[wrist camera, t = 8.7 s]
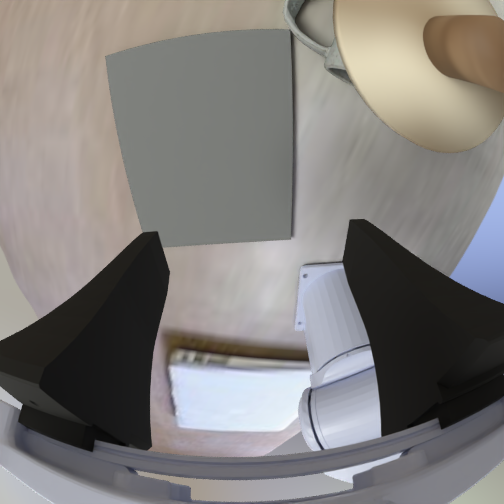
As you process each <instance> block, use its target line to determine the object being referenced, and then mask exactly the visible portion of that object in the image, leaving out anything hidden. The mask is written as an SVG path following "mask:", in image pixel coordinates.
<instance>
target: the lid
mask: <svg viewBox="0 0 504 504" xmlns="http://www.w3.org/2000/svg"><path fill="white" fill-rule="evenodd" d="M333 25H334V34H335V38H336V43H337V47H338V50H339V53H340V56H341V60H342V63H343V65H344V67H345V69H346V71H347V74H348V76H349V78H350V80H351V81H352V83H353V85H354V87H355V88H356V90H357V92H358V93H359V95H360V96H361V97H362V99H363V100H364V102H365V103H366V104H367V106H368V107H369V108H370V109H371V110H372V111H373V113H374V114H375V115H376V116H377V117H378V118H379V119H380V120H381V121H382V122H384V123H385V124H386V125H387V126H388V127H390V128H391V129H392V130H394V131H395V132H396V133H398V134H399V135H401V136H403V137H405V138H406V139H408V140H410V141H411V142H413V143H415V144H416V145H419V146H421V147H423V148H425V149H428V150H432V151H436V152H442V153H458V152H462V151H467V150H469V149H472V148H474V147H476V146H478V145H479V144H481V143H482V142H484V141H485V140H486V139H487V138H488V137H490V136H491V135H492V133H493V132H494V131H495V130H496V129H497V127H498V126H499V124H500V123H501V121H502V119H503V117H504V21H503V20H502V19H501V18H499V17H498V15H497V13H496V11H495V10H494V8H493V6H492V5H491V3H490V2H489V0H334V3H333Z"/></svg>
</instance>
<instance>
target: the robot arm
mask: <svg viewBox="0 0 504 504" xmlns="http://www.w3.org/2000/svg"><path fill="white" fill-rule="evenodd" d="M342 262H343V263H330V264H316V265H304V266H302V267H301V268H300V276H299V288H298V298H297V309H296V318H295V330H296V331H304V333H305V338H306V343H307V349H308V354H309V360H310V366H311V371H312V375H310V381H311V387H309V388H307V389H305V390H304V392H303V394H302V397H301V399H300V402H299V409H298V414H299V422H300V427H301V431H302V434H303V437H304V439H305V441H306V443H307V445H308V446H309V447H310V449H311V450H312V451H313V452H305V453H298V454H288V455H278V456H261V457H203V456H188V455H177V454H168V453H160V452H153V451H147V450H148V449H150V448H151V447H152V441H151V427H150V385H151V370H152V359H153V351H154V345H155V340H156V336H157V332H158V328H159V324H160V320H161V316H162V312H163V308H164V304H165V300H166V296H167V291H168V284H169V275H170V271H169V268H168V264H167V261H166V258H165V254H164V251H163V248H162V244H161V241H160V237H159V234H158V231H152V232H143V233H142V234H140V235H139V236H138V237H137V238H136V239H135V240H133V241H132V242H131V243H130V244H129V245H128V246H127V247H126V248H125V249H124V250H123V251H122V252H121V253H120V254H119V255H118V256H117V257H116V258H115V259H114V260H113V261H111V262H110V263H109V264H108V265H107V266H106V267H105V268H104V269H103V270H102V271H101V272H100V273H99V274H97V275H96V276H95V277H94V278H93V279H92V280H91V281H90V282H89V283H88V284H87V285H85V286H84V287H83V288H82V289H81V290H79V291H78V292H77V293H76V294H74V295H73V296H72V297H71V298H69V299H68V300H67V301H65V302H64V303H63V304H61V305H60V306H58V307H57V308H56V309H54V310H53V311H51V312H50V313H49V314H47V315H46V316H44V317H43V318H41V319H39V320H38V321H36V322H35V323H33V324H31V325H30V326H28V327H26V328H24V329H23V330H21V331H19V332H17V333H15V334H13V335H11V336H9V337H7V338H5V339H3V340H1V341H0V386H1V387H2V388H3V389H4V390H5V391H7V392H8V393H9V394H10V395H12V396H13V397H14V398H16V399H17V400H18V401H19V402H21V403H22V404H23V405H22V409H21V410H20V409H18V408H16V407H14V406H12V405H10V404H8V403H6V402H4V401H2V400H0V466H1V467H2V468H4V469H5V470H6V471H8V472H9V473H10V474H12V475H13V476H14V477H15V478H17V479H18V480H19V481H21V482H22V483H23V484H25V485H26V486H28V487H29V488H30V489H31V490H33V491H34V492H36V493H37V494H39V495H40V496H41V497H43V498H44V499H46V500H48V501H49V502H51V503H52V504H449V503H450V502H452V501H453V500H455V499H456V498H458V497H459V496H461V495H462V494H463V493H465V492H466V491H468V490H469V489H470V488H472V487H473V486H474V485H475V484H477V483H478V482H479V481H480V480H482V479H483V478H484V477H485V476H487V475H488V474H489V473H490V472H491V471H492V470H493V469H495V468H496V467H497V466H498V465H499V464H500V463H501V462H502V461H503V460H504V375H503V374H504V304H503V303H500V302H498V301H495V300H493V299H490V298H488V297H486V296H484V295H481V294H479V293H477V292H475V291H473V290H471V289H469V288H467V287H465V286H463V285H461V284H459V283H457V282H455V281H454V280H452V279H451V278H449V277H447V276H445V275H444V274H442V273H441V272H439V271H437V270H436V269H434V268H433V267H431V266H430V265H428V264H427V263H425V262H424V261H422V260H421V259H419V258H418V257H417V256H415V255H414V254H412V253H411V252H410V251H408V250H407V249H405V248H404V247H403V246H401V245H400V244H399V243H397V242H396V241H395V240H393V239H392V238H391V237H389V236H388V235H387V234H385V233H384V232H383V231H381V230H380V229H379V228H377V227H376V226H374V225H373V224H371V223H370V222H368V221H367V220H365V219H352V220H350V221H349V228H348V233H347V239H346V245H345V250H344V256H343V261H342ZM304 274H307V275H304ZM135 470H138V471H144V472H149V473H155V474H161V475H168V476H176V477H185V478H196V479H213V480H215V479H216V480H260V479H274V478H275V479H276V478H287V477H296V476H305V475H312V474H318V473H324V474H326V475H328V476H330V477H333V478H336V479H339V480H342V481H345V482H349V483H352V484H353V489H349V490H345V491H340V492H335V493H330V494H325V495H319V496H312V497H305V498H297V499H289V500H277V501H260V502H217V501H201V500H192V499H191V497H190V496H191V488H190V487H189V486H185V485H179V484H174V483H170V482H169V481H165V480H159V479H154V478H149V477H144V476H140V475H138V473H137V472H136V471H135Z"/></svg>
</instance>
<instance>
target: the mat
mask: <svg viewBox="0 0 504 504" xmlns="http://www.w3.org/2000/svg"><path fill="white" fill-rule="evenodd" d="M105 57H106V66H107V74H108V81H109V88H110V95H111V101H112V107H113V113H114V118H115V124H116V129H117V134H118V139H119V144H120V148H121V153H122V157H123V162H124V166H125V170H126V174H127V178H128V182H129V186H130V190H131V194H132V197H133V201H134V205H135V208H136V212H137V215H138V218H139V222H140V225H141V228H142V232H152V231H158V234H159V237H160V241H161V244H162V247H177V246H192V245H207V244H223V243H239V242H256V241H273V240H291V216H292V168H293V108H292V63H291V38H290V30H288V29H256V30H236V31H223V32H213V33H205V34H198V35H191V36H185V37H179V38H174V39H168V40H164V41H159V42H154V43H150V44H146V45H142V46H138V47H134V48H131V49H127V50H124V51H121V52H117V53H114V54H111V55H108V56H105Z"/></svg>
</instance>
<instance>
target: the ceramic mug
mask: <svg viewBox="0 0 504 504" xmlns="http://www.w3.org/2000/svg"><path fill="white" fill-rule="evenodd" d="M304 1H305V0H285V3H284V8H283V14H284V19H285V22H286V23H287V25H288V27H289V29H290V30H291V31H292V32H293V34H294V35H295V36H296V37H297V38H298V39H299V40H300V41H301V42H302V43H303V44H304V45H306V46H307V47H309V48H310V49H312V50H314V51H315V52H317V53H318V54H320V55H323V56H325V57H326V61H325V63H324V66H325V69H326V70H327V71H328V72H330V73H331V74H332V75H334V76H336V77H337V78H339V79H341V80H342V81H344V82H347V83H349V84H351V85H353V83H352V81H351V80H350V78H349V76H348V74H347V71H346V69H345V67H344V65H343V63H342V60H341V56H340V53H339V50H338V47H337V43H336V38H335V39H334V41H333V44H332V46H331V47H324V46H321V45H319V44H317V43H316V42H315V41H313V40H312V39H310V38H309V37H308V36H306V35H305V34H303V33H302V32H301V31H300V30H299V28H298V27H297V25H296V24H295V17H296V15H297V13H298V11H299V9H300V8H301V5H302V4H303V2H304ZM353 86H354V85H353Z"/></svg>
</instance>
